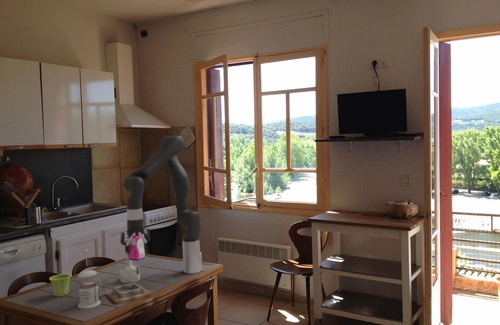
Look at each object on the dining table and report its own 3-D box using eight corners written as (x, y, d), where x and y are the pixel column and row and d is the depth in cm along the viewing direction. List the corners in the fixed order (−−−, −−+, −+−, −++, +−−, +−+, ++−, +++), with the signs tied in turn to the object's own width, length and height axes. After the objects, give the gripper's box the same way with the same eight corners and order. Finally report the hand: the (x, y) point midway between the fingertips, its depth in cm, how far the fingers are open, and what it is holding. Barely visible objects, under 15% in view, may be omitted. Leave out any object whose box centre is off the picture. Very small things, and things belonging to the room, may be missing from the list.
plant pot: (51, 293, 207) (49, 275, 207) (71, 289, 211) (70, 272, 211) (50, 299, 199) (49, 281, 198) (72, 295, 203) (71, 277, 202)
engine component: (116, 282, 220) (134, 282, 218) (114, 243, 219) (132, 243, 217) (127, 275, 230) (144, 276, 228) (124, 238, 229) (142, 238, 227)
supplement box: (135, 257, 209) (134, 233, 209) (145, 258, 206) (144, 234, 206) (127, 259, 204) (126, 236, 203) (137, 261, 201) (136, 236, 201)
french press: (88, 299, 197) (85, 245, 196) (108, 301, 193) (105, 247, 192) (72, 306, 188) (68, 251, 187) (93, 309, 184) (89, 252, 182)
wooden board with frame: (138, 286, 211) (138, 280, 211) (150, 295, 198) (150, 288, 198) (106, 294, 202) (105, 287, 202) (116, 304, 189) (116, 296, 189)
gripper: (146, 215, 212) (147, 248, 212) (117, 218, 204) (118, 252, 204) (152, 217, 205) (153, 251, 206) (122, 220, 197) (123, 255, 198)
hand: (136, 251), depth 205 cm, fingers closed on supplement box, 7 cm apart
